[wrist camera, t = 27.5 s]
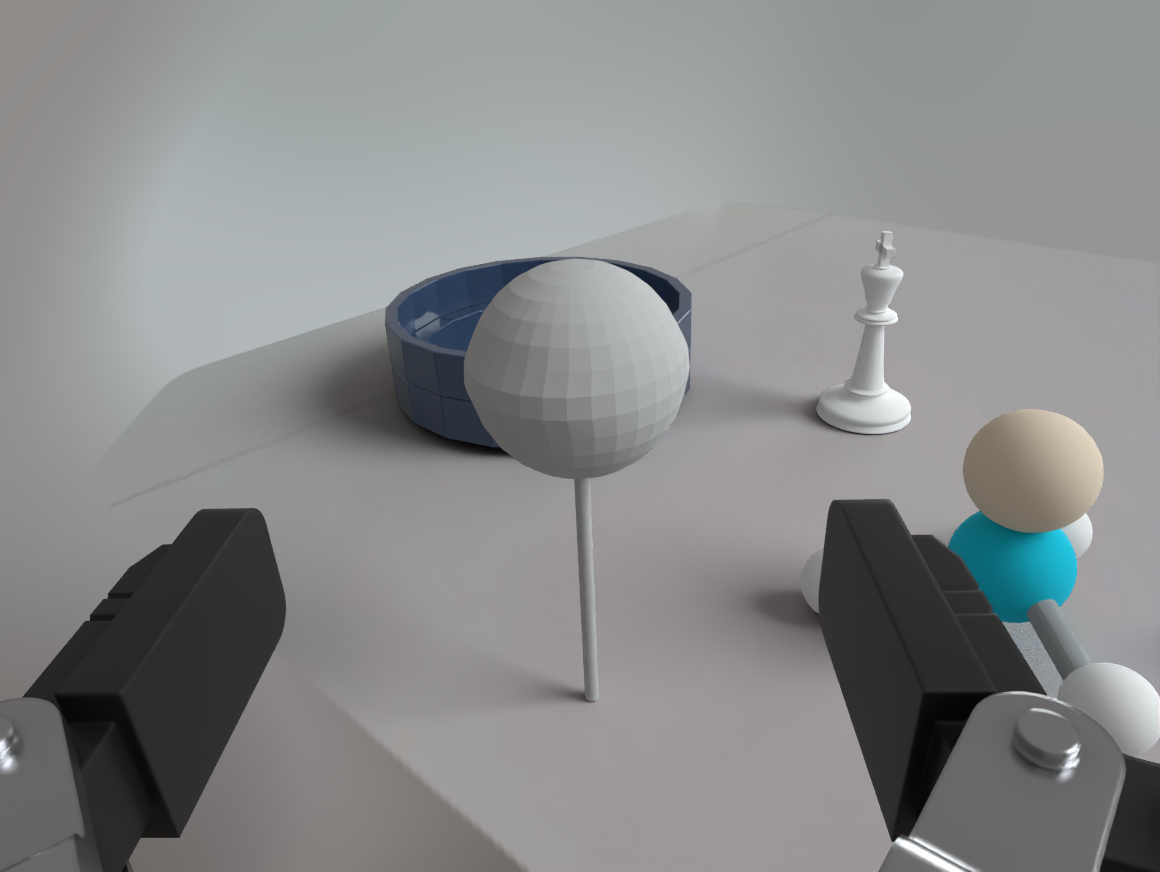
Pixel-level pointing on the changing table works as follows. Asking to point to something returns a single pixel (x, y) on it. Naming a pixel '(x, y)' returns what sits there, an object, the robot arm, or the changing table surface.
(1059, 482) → the molecule model
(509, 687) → the changing table surface
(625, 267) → the bowl
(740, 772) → the changing table surface
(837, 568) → the robot arm
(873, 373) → the chess piece
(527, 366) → the lollipop
